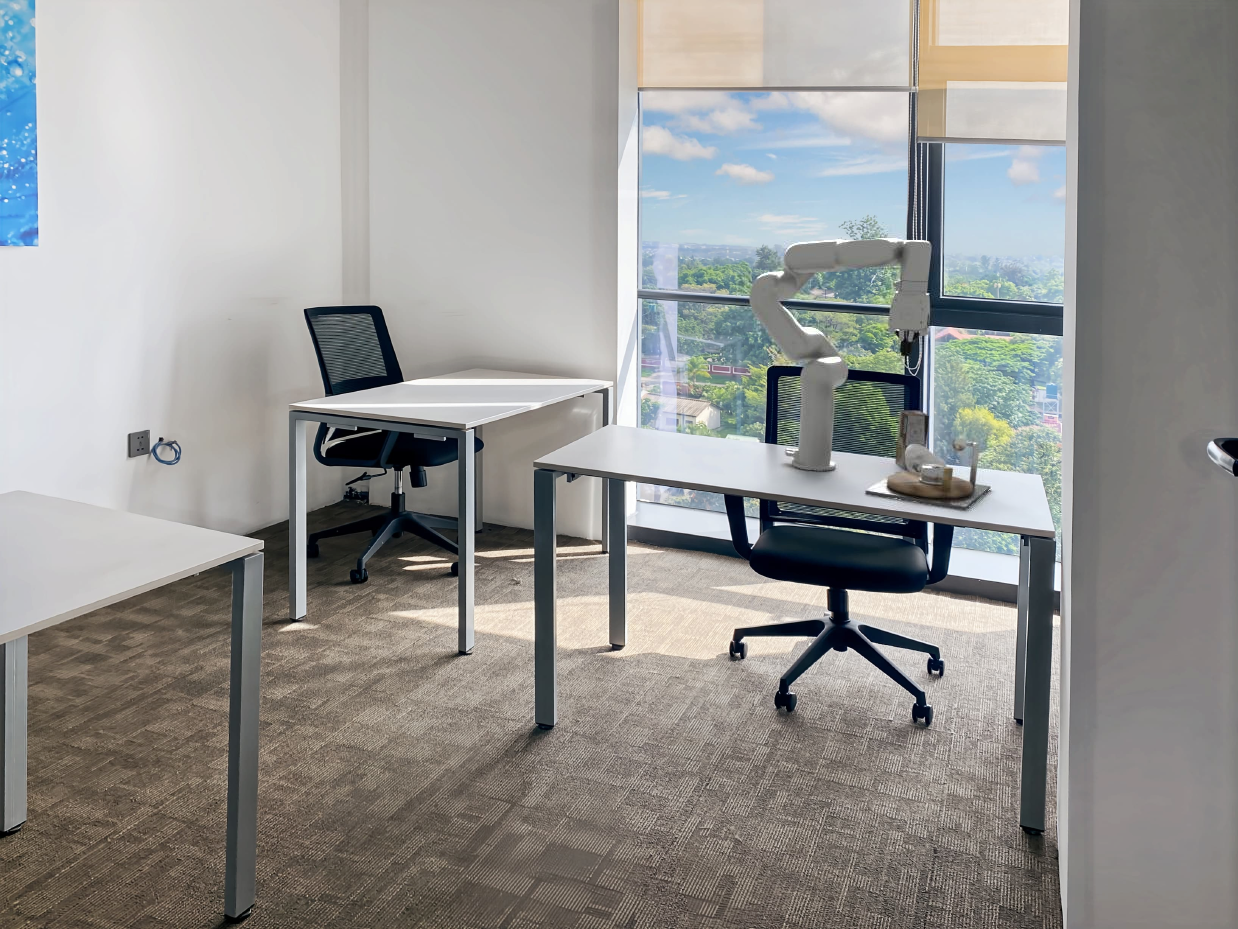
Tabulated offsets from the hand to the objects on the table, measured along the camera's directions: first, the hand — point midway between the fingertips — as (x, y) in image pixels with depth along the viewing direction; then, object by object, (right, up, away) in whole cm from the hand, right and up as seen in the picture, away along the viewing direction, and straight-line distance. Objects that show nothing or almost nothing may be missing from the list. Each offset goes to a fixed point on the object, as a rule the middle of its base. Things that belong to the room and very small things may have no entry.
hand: (905, 355), depth 283 cm
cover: (+6, -34, -5) cm, 35 cm away
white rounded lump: (+10, -33, +16) cm, 38 cm away
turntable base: (+5, -37, -4) cm, 37 cm away
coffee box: (+8, -30, +25) cm, 40 cm away
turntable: (+5, -36, -5) cm, 36 cm away
